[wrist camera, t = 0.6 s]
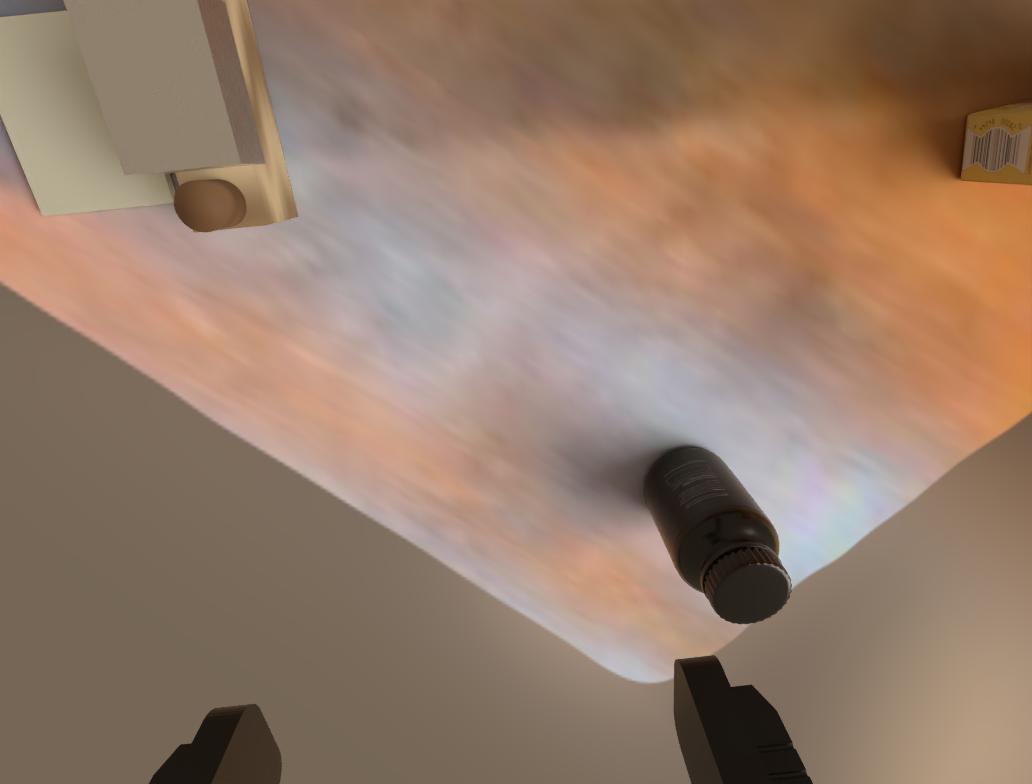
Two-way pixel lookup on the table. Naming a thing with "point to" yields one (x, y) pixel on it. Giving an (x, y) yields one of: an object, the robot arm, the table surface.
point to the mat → (63, 122)
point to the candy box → (999, 145)
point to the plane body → (241, 189)
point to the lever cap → (168, 83)
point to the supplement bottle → (717, 535)
